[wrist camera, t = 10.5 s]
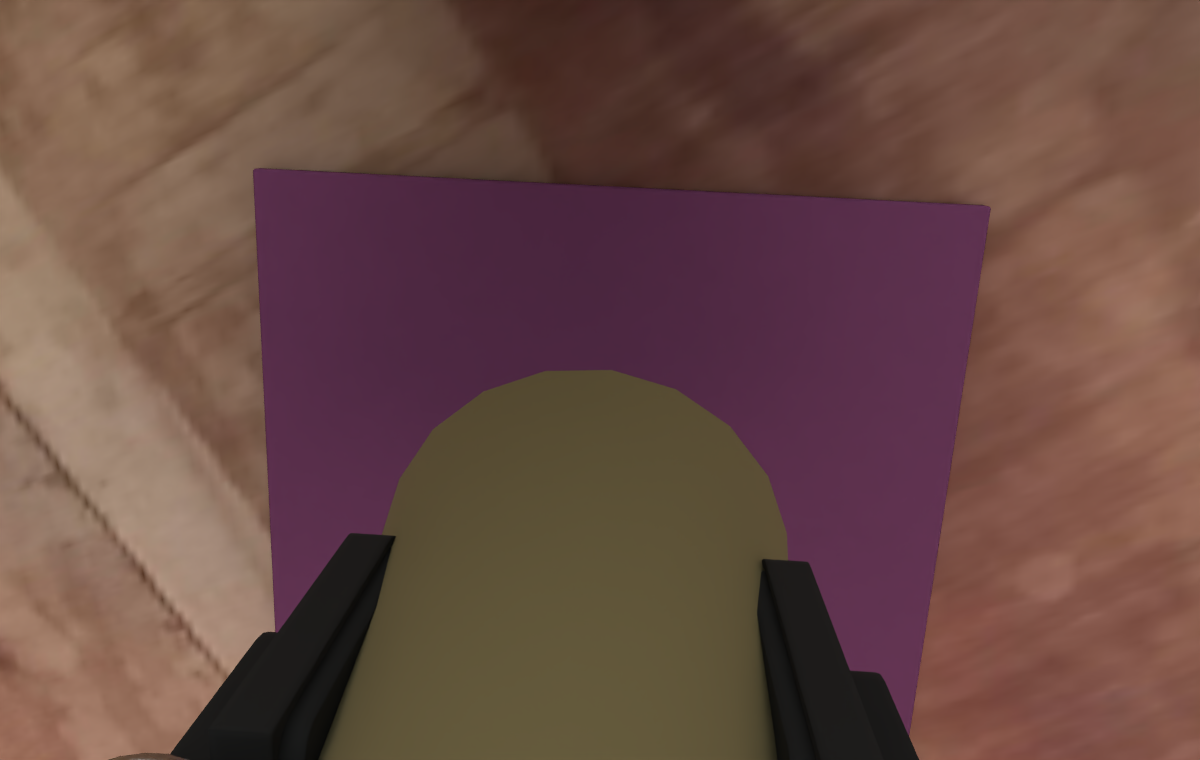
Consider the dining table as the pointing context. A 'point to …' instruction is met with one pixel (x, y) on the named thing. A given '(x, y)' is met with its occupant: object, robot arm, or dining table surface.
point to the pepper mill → (570, 585)
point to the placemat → (627, 354)
